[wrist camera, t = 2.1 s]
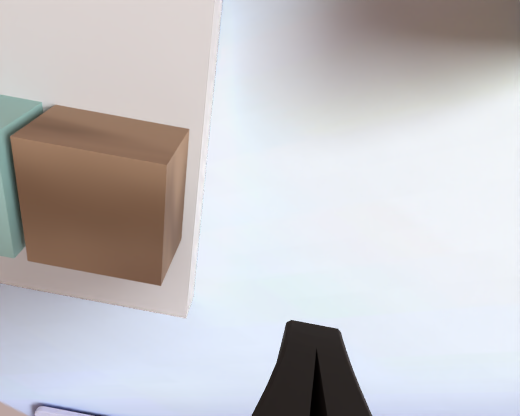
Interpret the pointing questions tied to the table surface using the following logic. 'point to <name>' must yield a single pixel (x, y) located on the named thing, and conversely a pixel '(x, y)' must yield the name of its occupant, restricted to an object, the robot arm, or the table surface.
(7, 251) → the mint green block
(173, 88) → the beige board
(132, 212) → the brown square block
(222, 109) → the table surface
